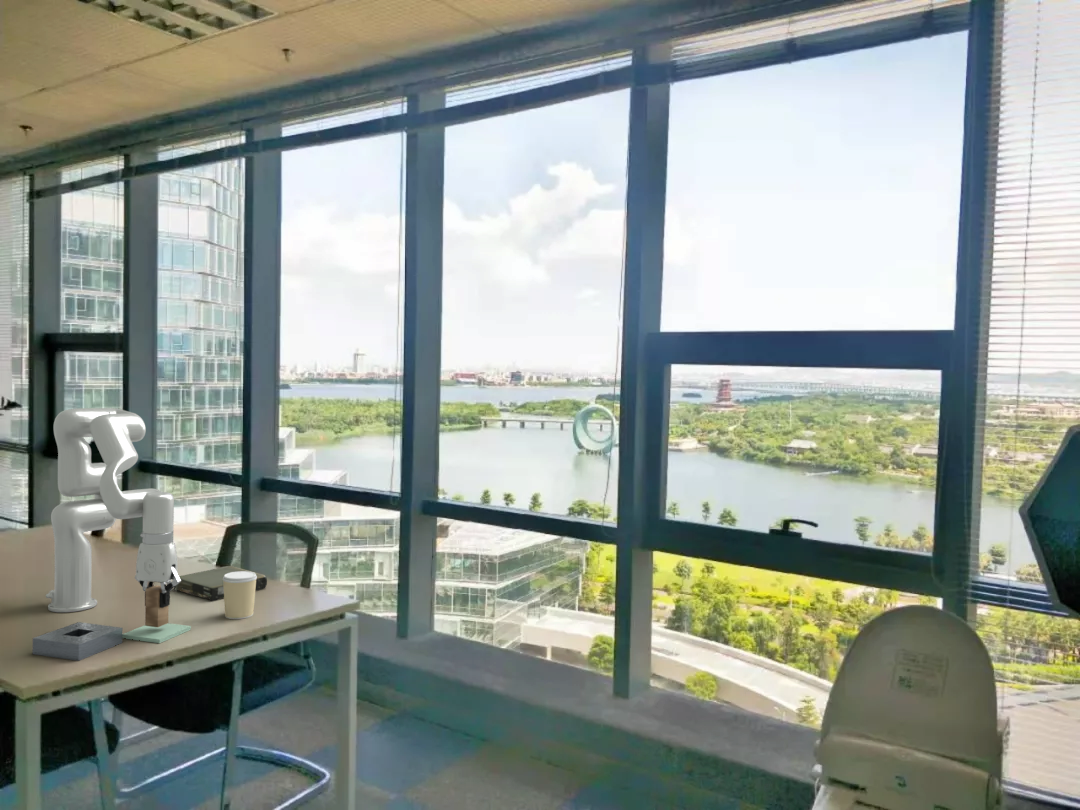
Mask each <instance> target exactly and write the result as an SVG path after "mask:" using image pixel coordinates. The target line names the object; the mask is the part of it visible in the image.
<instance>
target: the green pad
mask: <svg viewBox="0 0 1080 810" xmlns="http://www.w3.org/2000/svg"><path fill="white" fill-rule="evenodd" d="M191 630H192V626H191V625H185V624H178V623H170V622H168V623H167V624H165V625H162V626H160V627H151V626H145V625H142V626H140V627H136V628H135V629H132V630H129V631H127V632H124V633H122V639H124V638H126V640H132V639H133V640H134V641H139V640H140V641H141V642H146V643H147V642H148V643H155V644H161V643H163V642H166V641H168V640H171V639H172V638H175V637H177V636H180V635H181V634H184V633H187V632H189V631H191ZM133 640H132V641H133Z"/></svg>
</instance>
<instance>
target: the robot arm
mask: <svg viewBox="0 0 1080 810" xmlns="http://www.w3.org/2000/svg"><path fill="white" fill-rule="evenodd" d="M146 430H147V428H146V424H145V421H144V419H143V418H142V417H141V416H140V415H138V414H137V413H135V412H132V411H128V410H125V409H120V408H116V407H115V408H114V407H93V408H91V407H85V408H83V407H81V408H80V407H78V408H69V409H65V410H62V411H60V412H59V413H58V414H57V416H56V417H55V418H54V422H53V435H54V438H55V443H56V446H57V447H56V448H57V453H58V454H57V455H58V456H57V489H58V491H59V494H60V495H61V496H64V497H69V498H70V497H71V498H72V497H73V498H74V497H75V498H76V497H84V496H85V497H86V496H94V498H91V499H89V498H88V499H79V500H78V499H77V500H71V501H66V502H62V503H60V504H58V505H56V506H55V507H54V508H53V509H52V511H51V513H50V514H51V515H50V521H51V527H52V531H53V539H54V540H53V541H54V589H50V590H49V592H48V593H46V594H45V598H46V599H51V602H50V603H49V604H48V606H47V609H48V610H49V611H50V612H54V613H73V612H74V613H75V612H82V611H85V610H89V609H91V608H94V607H96V606H97V605H98V599H96V598H93V597H92V557H93V556H92V554H93V553H92V552H93V551H92V545H91V542H90V541H89V539H87V537H86V536H85V533H88V532H93V531H100V530H101V531H102V530H105V529H109V528H111V527H112V526H114V524H115V523H116V521H117V520H126V519H127V520H128V519H135V518H141V517H142V532H141V533H140V538H142V542H140V543H139V546H138V550H137V557H136V562H135V564H136V565H135V576H134V579H135V580H136V581H137V582H138V583H139V584H140V586H141V587H142V591H143V592H144V607H145V606H146V589H147V588H150V587H153V586H155V583H159V584H160V586H161V591H162V593H160V608H163V607H166V606H168V605H169V606H170V604H171V599H170V598H171V591H172V590H174V586H175V585H177V584H179V583H180V582H181V580H180V578H179V576H180V575H178V574H179V573H178V571H179V569H178V567H179V566H178V565H179V564H178V554H177V547H176V543H174V519H175V516H174V515H175V514H174V513H175V509H174V508H175V499H174V498H175V497H174V494H173V493H171V492H168V491H167V492H166V491H165V492H164V491H161V490H159V489H157V488H151V487H150V488H142V489H141V488H139V489H132V490H123V491H121V489H120V488H119V484H118V482H119V481H118V475H120V474H122V473H124V472H125V471H127V470H129V469H131V468H132V467H133V466H134V465H136V463H137V462H138V461H139V454H138V452H137V450H136V448H135V446H134V444H133V443H136V442H140V441H141V440H143V439H144V438H145V435H146V433H147V432H146ZM85 438H92V439H93V441H94V444H95V445H96V447H97V450H98V451H99V454H100V456H101V458H102V461H103V462H92V448H91V446H90V445H89V442H87V439H85Z"/></svg>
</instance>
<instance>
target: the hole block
mask: <svg viewBox="0 0 1080 810" xmlns="http://www.w3.org/2000/svg"><path fill="white" fill-rule="evenodd" d="M122 634H123V627H120V626H119V627H118V626H111V625H106V624H97V623H90V622H83V621H78V622H74V623H72V624H69V625H66V626H64V627H60V628H58V629H55V630H51V631H49V632H47V633H43V634H41V635H38V636H36V637H35V636H34V637H33V638H32V655H36V656H43V657H51V658H57V659H63V660H64V659H66V660H71V661H78V662H80V661H81V660H84V659H87V658H88V657H91V656H94V655H97V654H98V653H101V652H103V651H106V650H109V649H111V648H113V647H116V646H118V644H119V645H121V644H123V638H122ZM115 645H116V646H115ZM108 648H109V649H108Z"/></svg>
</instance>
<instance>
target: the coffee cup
mask: <svg viewBox="0 0 1080 810" xmlns="http://www.w3.org/2000/svg"><path fill="white" fill-rule="evenodd" d="M249 571H250V570H248V571H238V572H231V573H227V574H225V575H224V577H223V582H224V598H223V599H224V601H223V602H224V613H225V614H224V615H225V616H224V617H225V618H226V619H230V620H242V619H247V618H251V617H252V616H253V615H254V607H255V599H256V591H255V589H256V579H257V576H256V574H255V573H256V572H255V573H254V571H252V572H249Z"/></svg>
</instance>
